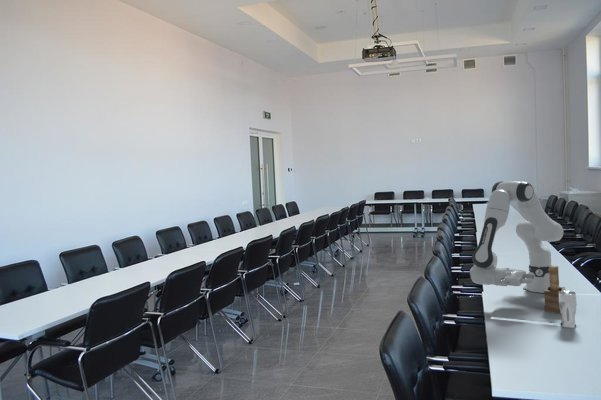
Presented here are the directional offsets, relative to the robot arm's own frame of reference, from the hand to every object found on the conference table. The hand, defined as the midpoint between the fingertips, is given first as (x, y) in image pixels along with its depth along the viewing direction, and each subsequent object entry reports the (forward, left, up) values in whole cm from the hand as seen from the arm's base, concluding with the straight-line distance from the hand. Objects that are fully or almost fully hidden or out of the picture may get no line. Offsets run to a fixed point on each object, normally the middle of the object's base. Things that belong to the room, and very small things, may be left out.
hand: (533, 278), depth 241 cm
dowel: (0, +9, -9) cm, 13 cm away
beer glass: (+20, +16, -16) cm, 30 cm away
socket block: (0, +9, -14) cm, 17 cm away
